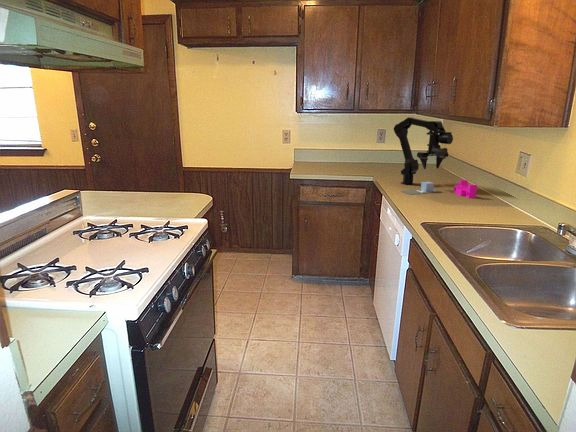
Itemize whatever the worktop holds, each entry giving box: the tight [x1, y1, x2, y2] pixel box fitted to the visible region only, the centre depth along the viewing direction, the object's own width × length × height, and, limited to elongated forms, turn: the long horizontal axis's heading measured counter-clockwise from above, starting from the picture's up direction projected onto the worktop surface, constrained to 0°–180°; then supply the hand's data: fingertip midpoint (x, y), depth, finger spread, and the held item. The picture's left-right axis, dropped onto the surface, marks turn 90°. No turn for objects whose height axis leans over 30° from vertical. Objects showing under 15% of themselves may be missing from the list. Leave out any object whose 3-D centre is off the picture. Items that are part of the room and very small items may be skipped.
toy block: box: [453, 179, 478, 199], centre depth 223 cm, size 15×6×8 cm, turn 179°
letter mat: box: [400, 188, 443, 195], centre depth 231 cm, size 9×23×1 cm, turn 108°
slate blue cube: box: [420, 181, 435, 192], centre depth 232 cm, size 5×5×5 cm
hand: (431, 168), depth 237 cm, fingers open, 9 cm apart
